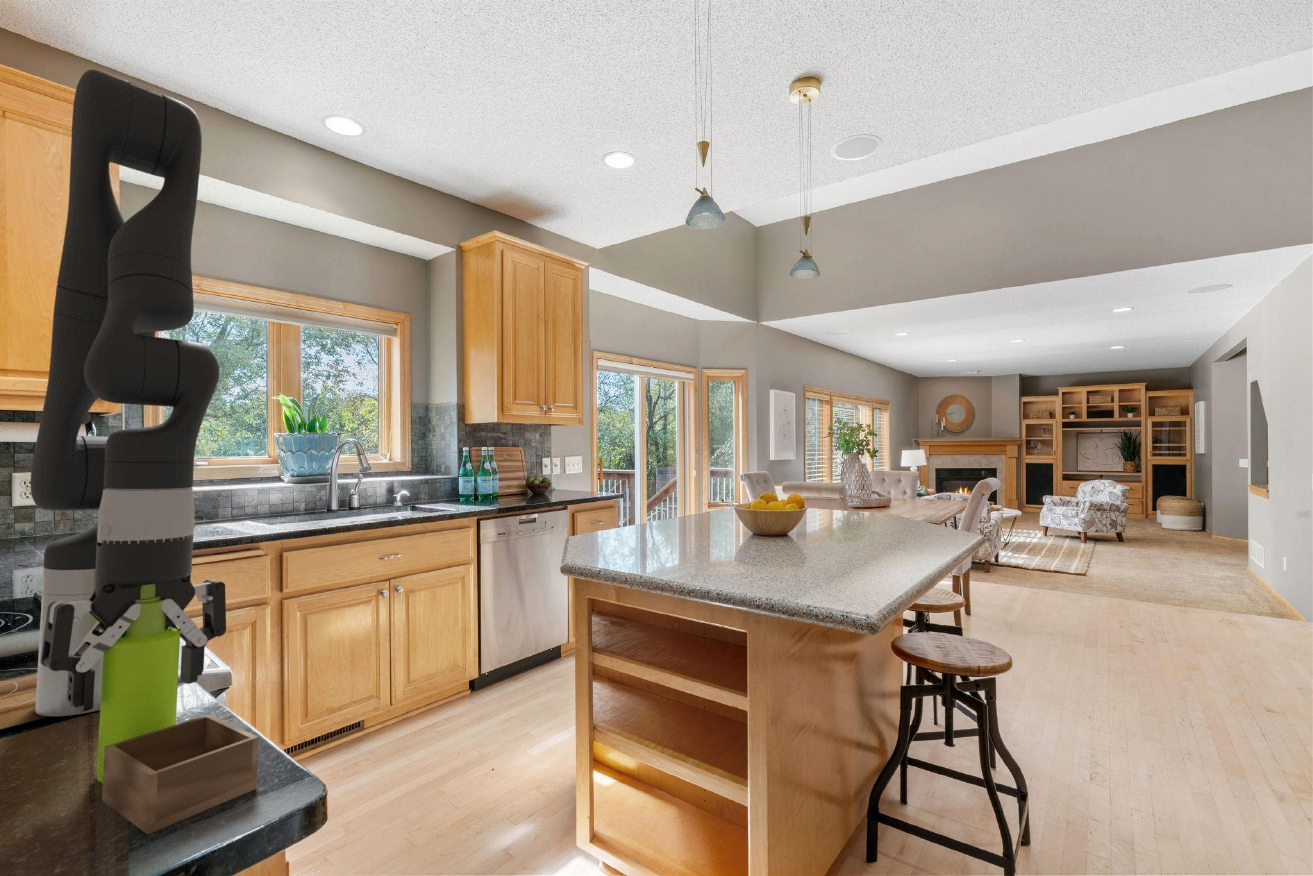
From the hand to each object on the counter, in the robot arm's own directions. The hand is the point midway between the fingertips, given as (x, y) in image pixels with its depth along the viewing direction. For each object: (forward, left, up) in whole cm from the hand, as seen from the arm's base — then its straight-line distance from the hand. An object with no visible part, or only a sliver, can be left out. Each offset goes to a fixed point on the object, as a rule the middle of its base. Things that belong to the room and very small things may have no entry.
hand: (139, 694), depth 62 cm
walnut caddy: (+9, 0, -7) cm, 12 cm away
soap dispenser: (0, 0, -7) cm, 7 cm away
